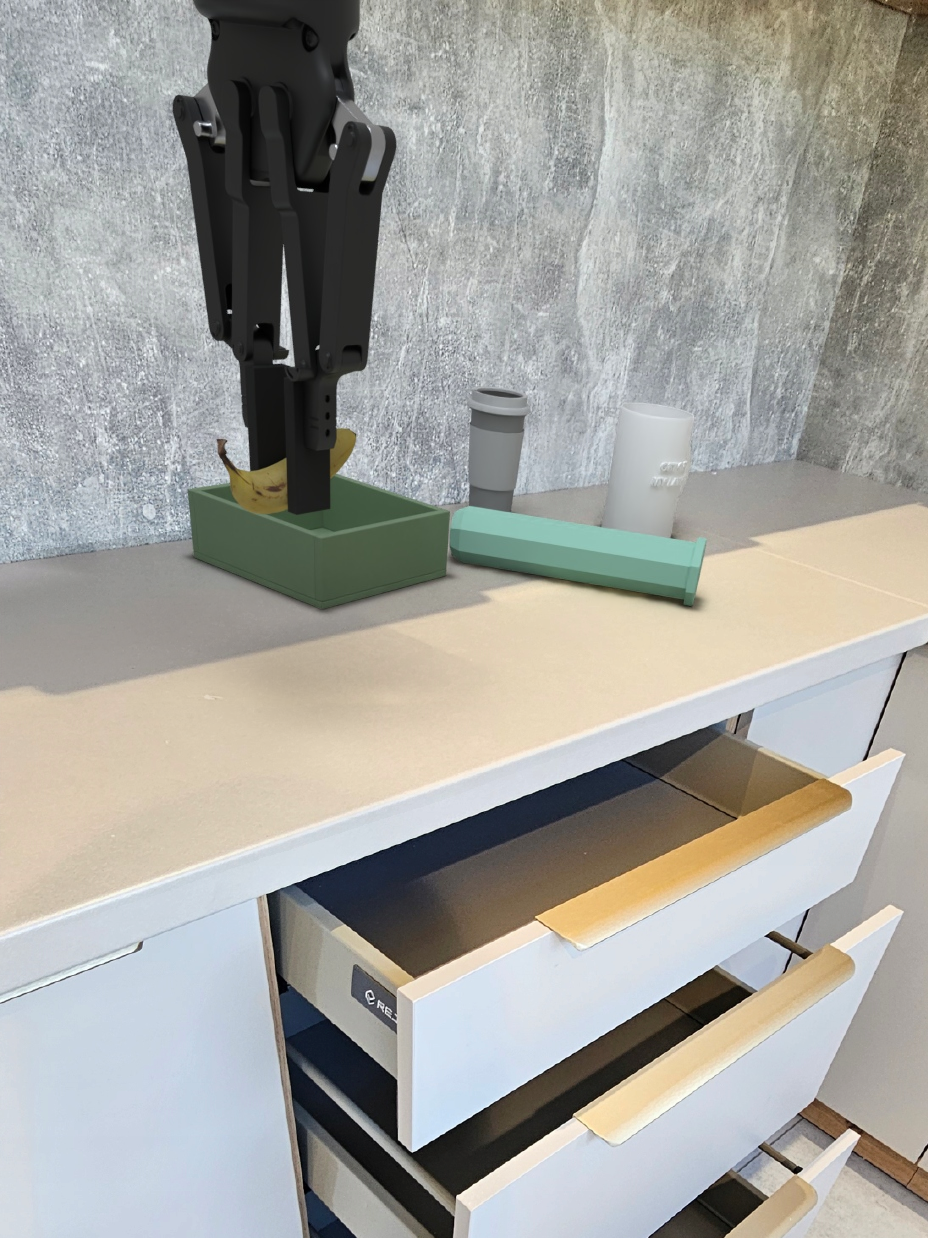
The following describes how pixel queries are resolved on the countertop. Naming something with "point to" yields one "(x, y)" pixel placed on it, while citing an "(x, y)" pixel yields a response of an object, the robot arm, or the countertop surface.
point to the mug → (648, 468)
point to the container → (578, 552)
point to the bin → (324, 542)
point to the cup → (495, 445)
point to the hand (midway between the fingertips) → (290, 502)
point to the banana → (276, 477)
